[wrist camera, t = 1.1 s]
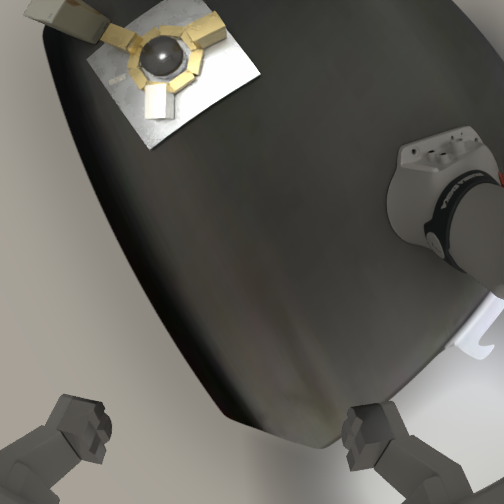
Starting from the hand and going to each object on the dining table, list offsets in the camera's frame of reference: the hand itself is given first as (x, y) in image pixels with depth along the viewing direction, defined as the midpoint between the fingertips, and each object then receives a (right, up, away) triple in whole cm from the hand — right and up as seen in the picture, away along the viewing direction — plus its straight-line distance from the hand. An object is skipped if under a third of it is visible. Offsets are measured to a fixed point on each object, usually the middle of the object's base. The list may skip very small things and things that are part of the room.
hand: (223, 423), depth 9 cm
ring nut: (-9, +30, +23) cm, 39 cm away
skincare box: (-23, +38, +22) cm, 49 cm away
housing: (-10, +30, +25) cm, 41 cm away
